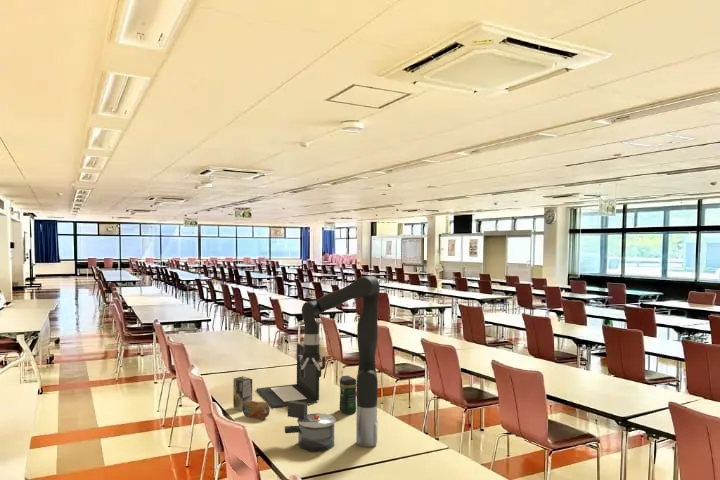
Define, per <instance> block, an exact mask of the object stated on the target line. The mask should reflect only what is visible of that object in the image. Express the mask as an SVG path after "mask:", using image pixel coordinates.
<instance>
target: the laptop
mask: <svg viewBox="0 0 720 480" xmlns="http://www.w3.org/2000/svg"><path fill="white" fill-rule="evenodd" d="M303 354H304V345H302V344H301V343H296V357H297V356H298V355H303ZM304 362H305V360H304V359H303V358H302V359H301V366H303V364H304ZM318 362H319V363H320V359H319V360H318ZM318 362H317V363H318ZM304 369H305V377H304V378H303V377H302V376H301V369H300V368H297V367H296V383H294V384H285V385H284V384H283V385H276V386H267V387H266V386H265V387H259V388H256V392H257V393H258V394H259V395H260V396H261V397H262V398H263V399H264V401H265V402H266V403H267V404H268V406H269V407H271V408H272V409H278V408H279V409H280V408H288V402H289V401H298V402H305V403H307V405H311V404H316V403H318V401H319V400H320V378H318V369H317V367H316V366H315V364H314V365H312V364H307V365H306V366H305V368H304Z"/></svg>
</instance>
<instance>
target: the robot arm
mask: <svg viewBox="0 0 720 480" xmlns="http://www.w3.org/2000/svg"><path fill="white" fill-rule="evenodd" d="M379 297H380V282H379V280H378V278H377V277H376V276H373V275H365V276H364V275H363V276H361V277H359V278H357V279H355V280H354V281H352V283H349V284H348V285H346V286H344V287H342V288H339V289H337V290H334V291H332V292H329V293H327V294H324V295H322V296H321V297H319V298H317V299H315V300H311V301H310V300H309V301H306V302H304V303H303V304H302V306H301V316H302V320H303V324H304V325H303V326H304V331H303V332H304V334H303V346H304V354H303V355H298V356H297V355H296V369H297V368H300V369H301V376H302V377H303V378H304V377H305V369H304V368H305V366H306V365H307V364H312V365H314V364H315V366H316V367H317V369H318V378H319V379H320V378H321V377H322V370H325V368H326V363H327V362H326V361H327V356H326V355H324V356H323V355H321V354H320V322H319V321H318V320H316V318H315V317H316V316H317V315H320V314H323V313H324V312H326V311H329V310H332V309H334V308H336V307H338V306H340V305H342V304H344V303H346V302H348V301H350V300H353V299H358V298H362V309H361V313H360V315H359V318H358V321H357V322H358V323H357V326H356V327H357V330H356V332H357V335H356V337H357V348H358V349H357V350H358V355H359V356H358V368H357V369H358V370H357V375H356V423H355V424H356V428H355V429H356V431H355V432H356V433H355V434H356V436H355V437H356V438H355V439H356V442H355V444H356V445H357V446H360V447H364V448H365V447H366V448H367V447H368V448H369V447H370V448H371V447H376V446H377V443H378V387H379V386H378V381H379V380H378V375H377V367H376V353H377V352H376V351H377V348H378V346H377V345H378V333H379V332H378V329H379V327H378V326H379V325H378V318H379V317H378V314H379V313H378V312H379V311H378V310H379V309H378V308H379V307H378V304H379ZM302 358H303V359H304V360H305V362H304V364H303V366H301V359H302ZM318 360H319V362H318ZM320 360H321V363H320ZM317 362H318V363H317Z"/></svg>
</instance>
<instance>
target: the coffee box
mask: <svg viewBox="0 0 720 480" xmlns="http://www.w3.org/2000/svg"><path fill="white" fill-rule="evenodd" d="M232 381H233V382H232V383H233V386H232V387H233V393H232V395H233V403H232V404H233V407H232V408H233V409H235V410H238V411H242V412H243V410H242V408H243V405H244V403H245V402H247V401H253V379H252V378H250V377H246V376H243V375H242V376H237V377H235V378H233V380H232Z"/></svg>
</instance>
